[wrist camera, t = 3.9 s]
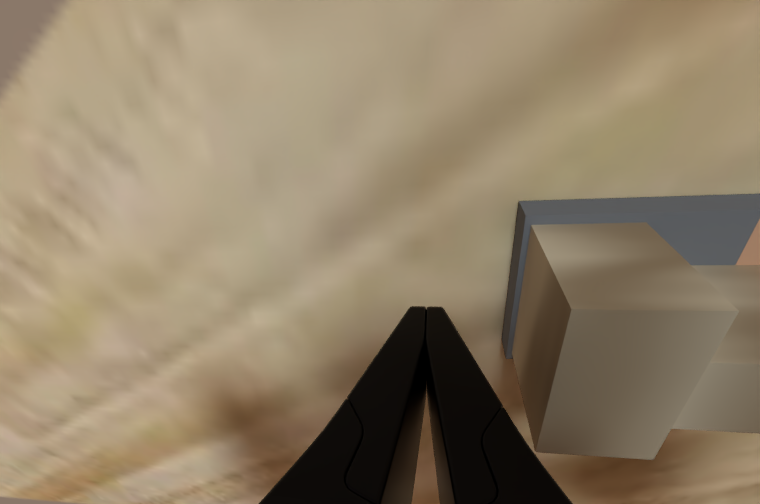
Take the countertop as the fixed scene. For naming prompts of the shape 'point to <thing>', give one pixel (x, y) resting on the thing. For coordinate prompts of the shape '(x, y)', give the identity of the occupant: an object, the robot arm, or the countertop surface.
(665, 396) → the t block
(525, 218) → the mat
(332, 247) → the countertop surface
